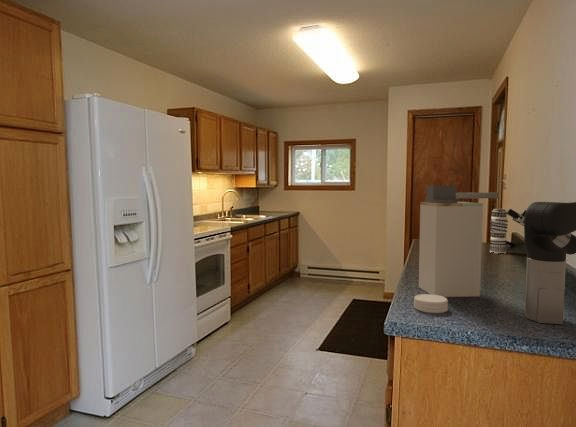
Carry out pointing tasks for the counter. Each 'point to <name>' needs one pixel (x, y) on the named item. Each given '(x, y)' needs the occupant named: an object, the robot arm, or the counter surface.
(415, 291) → the counter surface
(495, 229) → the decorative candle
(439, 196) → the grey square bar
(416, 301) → the coaster
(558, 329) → the counter surface
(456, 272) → the cabinet
